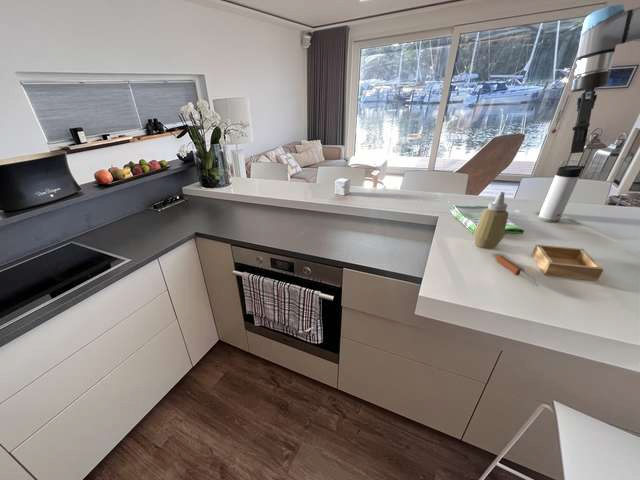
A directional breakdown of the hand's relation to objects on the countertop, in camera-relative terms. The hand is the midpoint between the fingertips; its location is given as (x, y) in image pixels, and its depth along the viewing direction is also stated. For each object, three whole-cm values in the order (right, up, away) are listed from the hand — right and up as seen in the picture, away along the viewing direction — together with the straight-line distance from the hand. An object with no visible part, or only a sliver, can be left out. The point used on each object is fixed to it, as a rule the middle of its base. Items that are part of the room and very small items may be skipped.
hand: (576, 150), depth 91 cm
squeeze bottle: (-26, -30, +5) cm, 40 cm away
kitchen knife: (-29, -39, -11) cm, 50 cm away
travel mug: (+8, -19, +18) cm, 28 cm away
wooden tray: (-14, -37, -9) cm, 41 cm away
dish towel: (-16, -20, +20) cm, 33 cm away
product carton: (-61, +3, +66) cm, 90 cm away
